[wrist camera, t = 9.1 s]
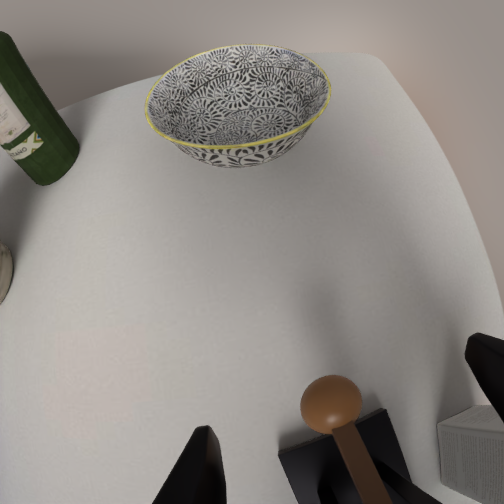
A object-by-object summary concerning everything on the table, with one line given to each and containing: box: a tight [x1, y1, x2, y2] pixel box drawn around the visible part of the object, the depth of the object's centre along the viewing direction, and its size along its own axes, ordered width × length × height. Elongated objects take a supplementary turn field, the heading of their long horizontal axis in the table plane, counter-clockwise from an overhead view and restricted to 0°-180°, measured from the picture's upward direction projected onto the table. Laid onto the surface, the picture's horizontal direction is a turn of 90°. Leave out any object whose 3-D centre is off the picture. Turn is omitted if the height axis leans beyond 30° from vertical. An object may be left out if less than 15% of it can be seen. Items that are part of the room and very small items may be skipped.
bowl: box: [145, 44, 331, 168], centre depth 26 cm, size 16×16×8 cm
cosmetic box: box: [437, 405, 504, 504], centre depth 10 cm, size 6×4×12 cm
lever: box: [300, 375, 393, 504], centre depth 10 cm, size 13×3×3 cm, turn 20°
